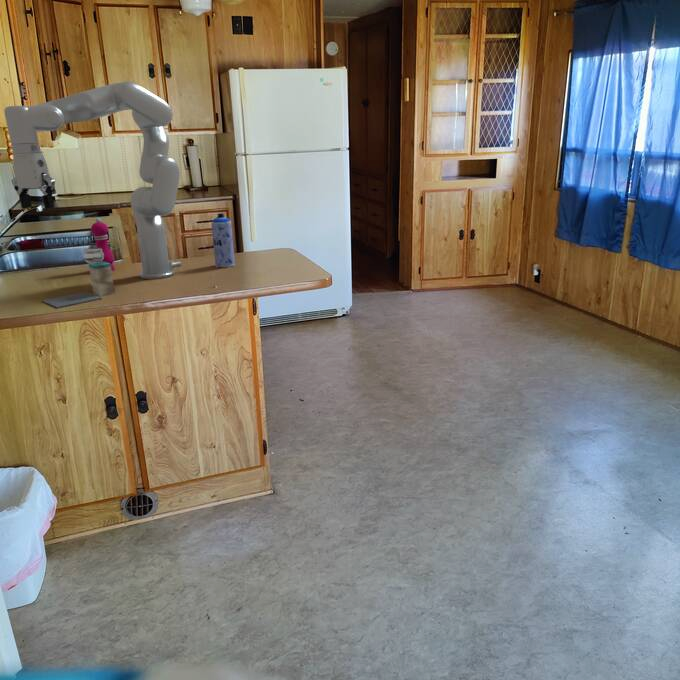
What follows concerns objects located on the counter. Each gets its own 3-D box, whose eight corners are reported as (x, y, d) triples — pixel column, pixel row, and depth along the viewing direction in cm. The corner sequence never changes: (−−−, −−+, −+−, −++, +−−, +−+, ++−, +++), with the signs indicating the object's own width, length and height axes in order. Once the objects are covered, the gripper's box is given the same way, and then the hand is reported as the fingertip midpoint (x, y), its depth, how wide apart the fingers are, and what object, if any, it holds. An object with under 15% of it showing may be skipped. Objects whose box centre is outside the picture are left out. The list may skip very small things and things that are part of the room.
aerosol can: (210, 266, 235) (205, 214, 229) (225, 262, 241) (220, 211, 235) (225, 268, 231) (220, 215, 224) (239, 264, 237) (235, 212, 230)
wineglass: (107, 284, 211) (102, 250, 207) (87, 286, 209) (81, 252, 206) (109, 280, 217) (103, 247, 213) (88, 282, 216) (83, 249, 212)
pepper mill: (118, 270, 234) (110, 218, 227) (98, 273, 230) (90, 220, 224) (113, 267, 240) (105, 216, 233) (94, 270, 236) (85, 218, 229)
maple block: (108, 291, 203) (103, 261, 199) (115, 293, 199) (110, 263, 196) (93, 294, 199) (88, 264, 196) (100, 296, 196) (95, 266, 193)
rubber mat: (86, 292, 201) (86, 291, 201) (101, 298, 193) (101, 297, 193) (42, 301, 192) (42, 300, 192) (57, 308, 184) (56, 307, 184)
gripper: (57, 148, 181) (68, 206, 187) (16, 150, 188) (28, 206, 194) (36, 150, 175) (48, 210, 181) (-5, 151, 182) (8, 209, 187)
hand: (38, 207), depth 187 cm, fingers open, 9 cm apart
